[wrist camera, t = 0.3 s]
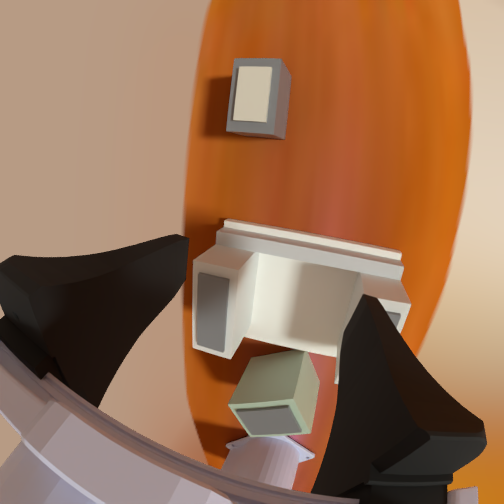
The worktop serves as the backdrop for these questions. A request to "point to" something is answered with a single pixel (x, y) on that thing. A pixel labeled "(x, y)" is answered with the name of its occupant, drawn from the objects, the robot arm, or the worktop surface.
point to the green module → (277, 395)
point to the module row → (288, 288)
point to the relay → (259, 98)
